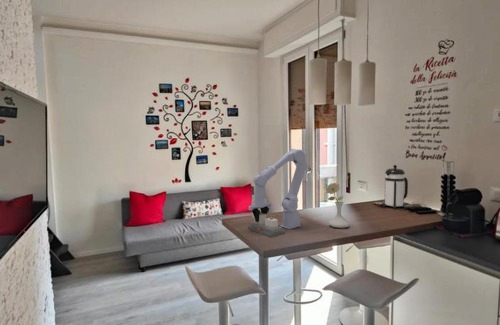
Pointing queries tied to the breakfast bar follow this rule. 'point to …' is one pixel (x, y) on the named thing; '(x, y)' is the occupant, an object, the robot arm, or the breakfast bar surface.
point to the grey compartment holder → (267, 227)
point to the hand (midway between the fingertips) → (260, 221)
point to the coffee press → (395, 187)
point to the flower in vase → (338, 219)
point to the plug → (261, 219)
